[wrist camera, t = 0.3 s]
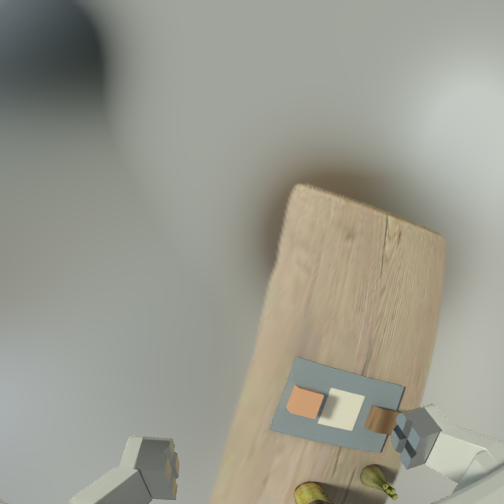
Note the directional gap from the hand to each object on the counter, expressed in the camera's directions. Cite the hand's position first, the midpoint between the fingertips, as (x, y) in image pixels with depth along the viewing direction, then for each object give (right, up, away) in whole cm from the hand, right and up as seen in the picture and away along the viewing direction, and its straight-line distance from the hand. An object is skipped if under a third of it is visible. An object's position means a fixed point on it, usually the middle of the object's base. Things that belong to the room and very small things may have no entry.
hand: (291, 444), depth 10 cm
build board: (+17, -26, +49) cm, 58 cm away
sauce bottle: (+10, -45, +44) cm, 64 cm away
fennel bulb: (+24, -43, +45) cm, 67 cm away
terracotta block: (+9, -23, +49) cm, 54 cm away
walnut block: (+25, -29, +48) cm, 61 cm away
